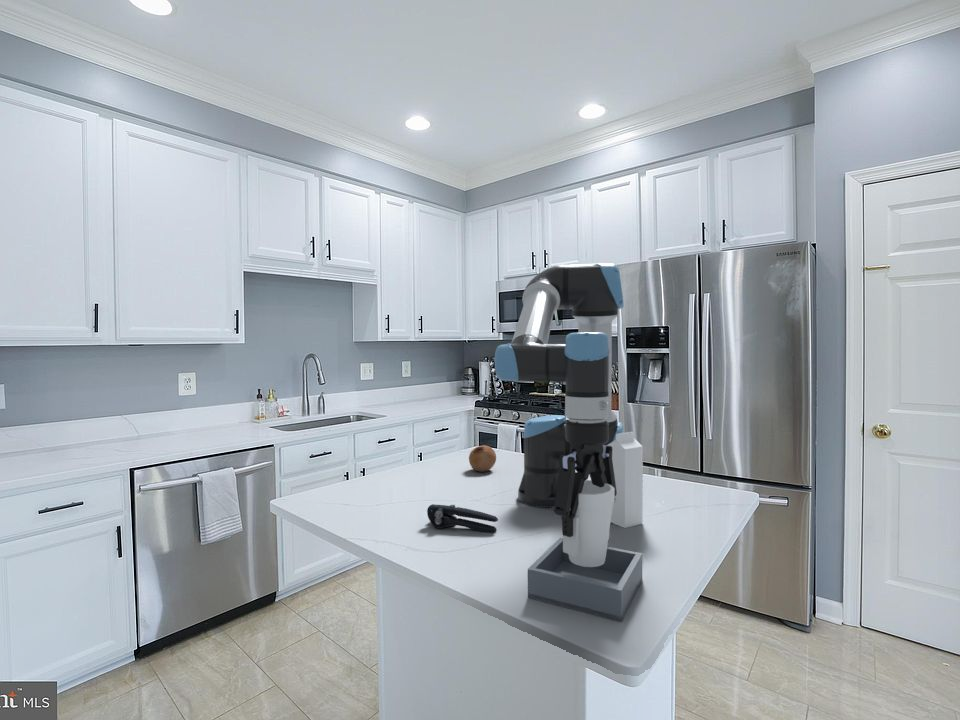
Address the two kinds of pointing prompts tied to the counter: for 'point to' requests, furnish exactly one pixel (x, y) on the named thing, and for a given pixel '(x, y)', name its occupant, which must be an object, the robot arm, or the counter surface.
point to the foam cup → (593, 524)
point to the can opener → (445, 517)
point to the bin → (587, 581)
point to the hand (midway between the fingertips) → (586, 545)
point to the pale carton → (627, 480)
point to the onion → (482, 458)
